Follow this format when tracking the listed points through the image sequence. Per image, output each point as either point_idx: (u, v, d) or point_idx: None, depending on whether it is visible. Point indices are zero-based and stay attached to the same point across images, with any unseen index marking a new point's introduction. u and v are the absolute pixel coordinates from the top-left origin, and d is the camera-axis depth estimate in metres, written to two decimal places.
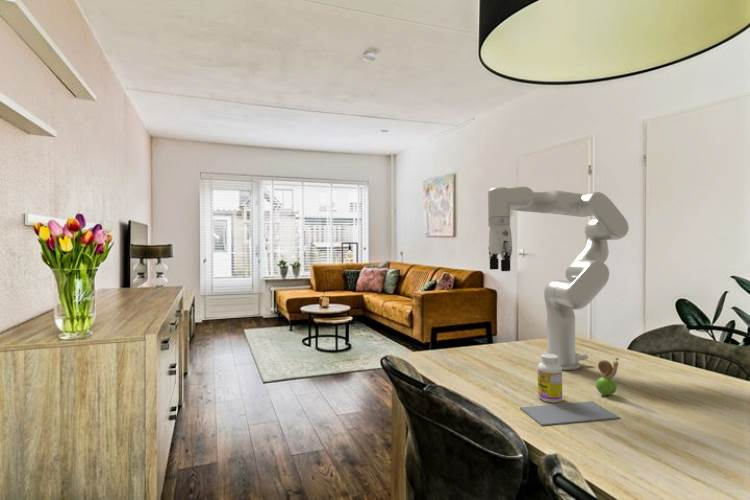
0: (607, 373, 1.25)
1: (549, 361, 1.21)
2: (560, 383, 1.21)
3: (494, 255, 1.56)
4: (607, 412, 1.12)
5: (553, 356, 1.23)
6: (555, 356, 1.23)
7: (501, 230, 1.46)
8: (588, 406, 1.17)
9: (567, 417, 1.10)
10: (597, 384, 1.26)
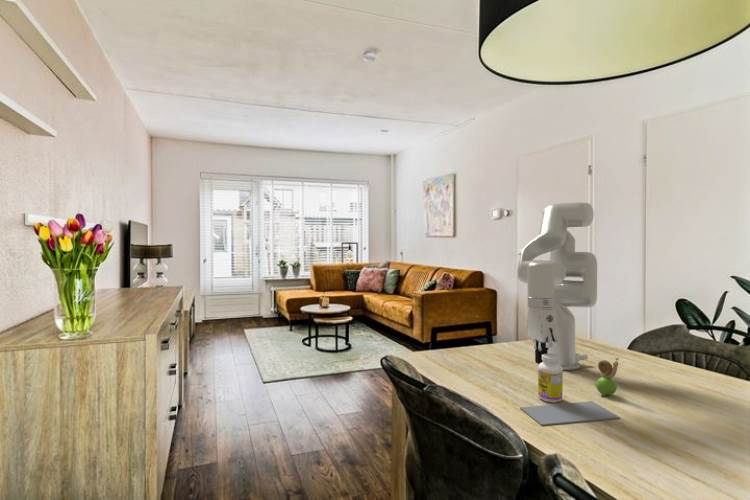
0: (607, 373, 1.25)
1: (550, 362, 1.21)
2: (560, 383, 1.21)
3: None
4: (607, 412, 1.12)
5: (554, 356, 1.22)
6: (556, 356, 1.22)
7: (545, 315, 1.23)
8: (588, 406, 1.17)
9: (567, 417, 1.10)
10: (597, 384, 1.26)
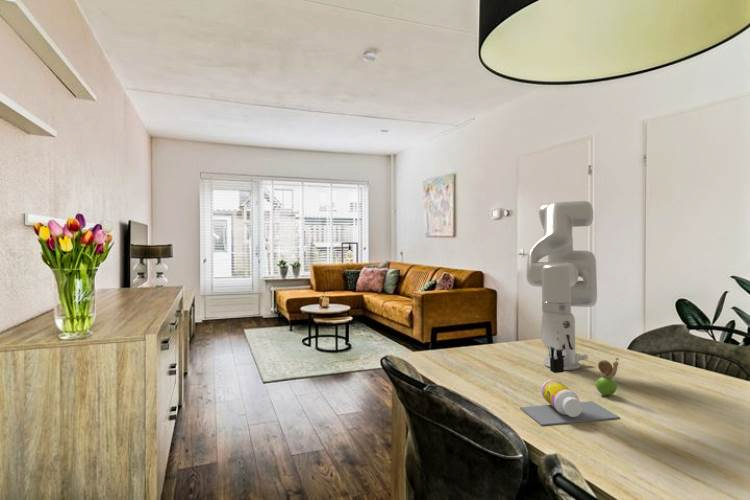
0: (607, 373, 1.25)
1: None
2: None
3: None
4: (607, 412, 1.12)
5: (577, 410, 1.08)
6: (579, 410, 1.08)
7: (561, 321, 1.15)
8: (588, 406, 1.17)
9: (567, 417, 1.10)
10: (597, 384, 1.26)
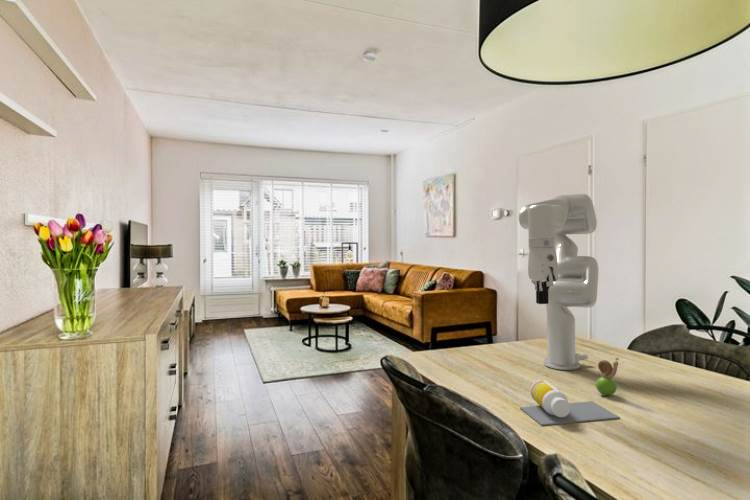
0: (607, 373, 1.25)
1: None
2: None
3: None
4: (607, 412, 1.12)
5: (565, 406, 1.08)
6: (566, 405, 1.08)
7: (546, 254, 1.26)
8: (588, 406, 1.17)
9: (567, 417, 1.10)
10: (597, 384, 1.26)
